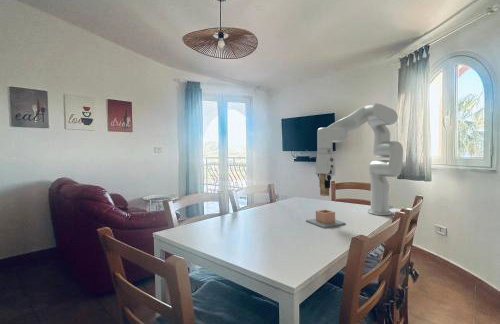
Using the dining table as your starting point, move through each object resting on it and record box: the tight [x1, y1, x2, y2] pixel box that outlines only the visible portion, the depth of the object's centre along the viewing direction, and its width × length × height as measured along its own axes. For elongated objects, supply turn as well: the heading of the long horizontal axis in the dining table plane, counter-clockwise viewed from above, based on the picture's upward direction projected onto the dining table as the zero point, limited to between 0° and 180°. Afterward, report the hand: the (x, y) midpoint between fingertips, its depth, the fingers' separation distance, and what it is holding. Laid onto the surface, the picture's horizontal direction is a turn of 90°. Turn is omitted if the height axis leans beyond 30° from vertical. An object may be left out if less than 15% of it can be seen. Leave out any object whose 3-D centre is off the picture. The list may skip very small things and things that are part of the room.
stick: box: [319, 173, 330, 197], centre depth 135 cm, size 3×3×12 cm
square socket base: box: [305, 209, 347, 229], centre depth 136 cm, size 14×14×6 cm
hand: (324, 187), depth 135 cm, fingers closed on stick, 3 cm apart
